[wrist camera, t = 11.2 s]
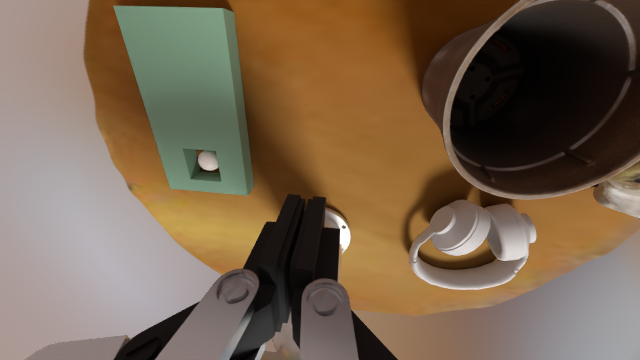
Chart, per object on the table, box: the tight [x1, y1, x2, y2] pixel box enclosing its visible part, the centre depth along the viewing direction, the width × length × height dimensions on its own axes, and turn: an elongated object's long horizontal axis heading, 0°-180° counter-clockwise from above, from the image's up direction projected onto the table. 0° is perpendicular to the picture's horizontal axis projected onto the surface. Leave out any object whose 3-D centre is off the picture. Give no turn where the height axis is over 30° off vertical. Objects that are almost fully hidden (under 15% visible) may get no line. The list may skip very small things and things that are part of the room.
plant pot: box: [422, 0, 640, 199], centre depth 24 cm, size 16×16×16 cm
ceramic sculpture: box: [593, 160, 640, 219], centre depth 30 cm, size 11×9×15 cm
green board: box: [113, 6, 254, 196], centre depth 36 cm, size 26×14×3 cm, turn 178°
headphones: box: [409, 199, 536, 290], centre depth 40 cm, size 18×8×20 cm
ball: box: [198, 150, 219, 171], centre depth 39 cm, size 4×4×4 cm
